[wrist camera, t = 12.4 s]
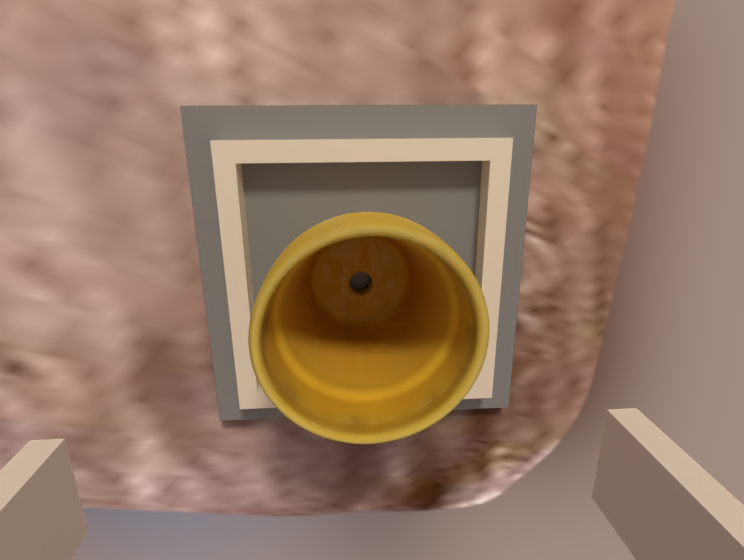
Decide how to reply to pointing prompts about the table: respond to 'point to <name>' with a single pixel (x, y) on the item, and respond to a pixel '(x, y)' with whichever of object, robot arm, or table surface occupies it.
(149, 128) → the table surface
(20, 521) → the robot arm
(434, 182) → the board
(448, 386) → the plant pot
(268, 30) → the table surface
